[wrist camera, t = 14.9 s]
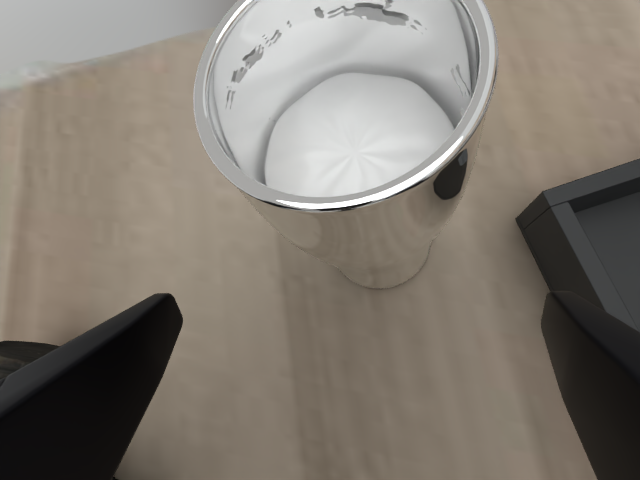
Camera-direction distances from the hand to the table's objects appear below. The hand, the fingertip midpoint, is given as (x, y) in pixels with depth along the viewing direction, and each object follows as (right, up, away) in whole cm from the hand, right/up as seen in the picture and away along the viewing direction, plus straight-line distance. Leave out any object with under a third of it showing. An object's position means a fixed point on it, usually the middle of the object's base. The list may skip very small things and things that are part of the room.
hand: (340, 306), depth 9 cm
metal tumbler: (+3, +2, +13) cm, 14 cm away
